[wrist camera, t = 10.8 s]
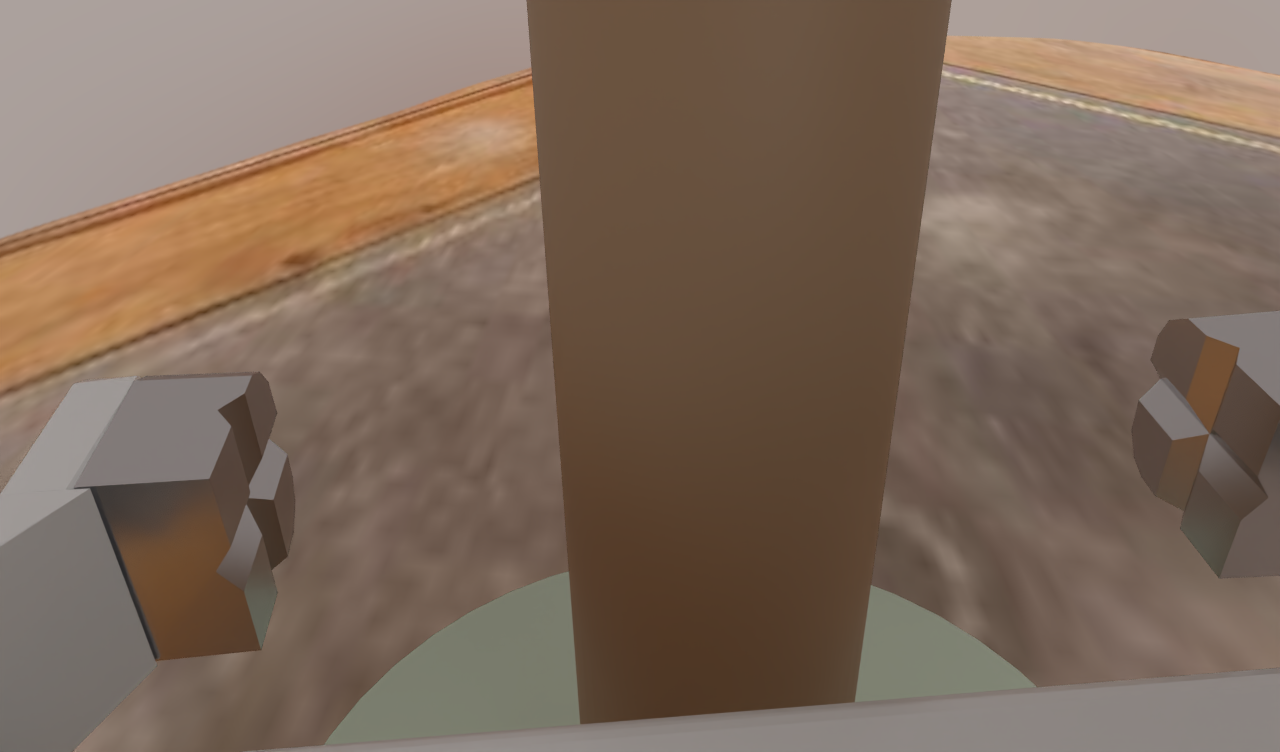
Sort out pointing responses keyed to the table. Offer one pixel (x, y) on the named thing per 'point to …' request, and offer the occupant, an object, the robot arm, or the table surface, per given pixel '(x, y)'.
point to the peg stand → (714, 374)
